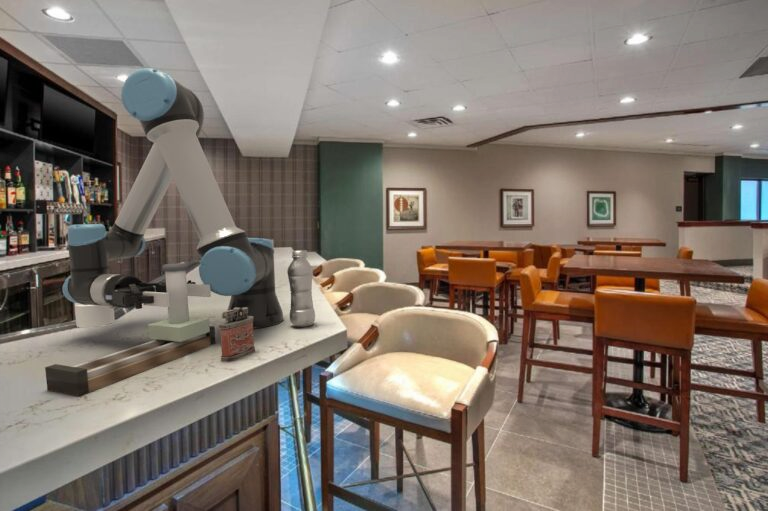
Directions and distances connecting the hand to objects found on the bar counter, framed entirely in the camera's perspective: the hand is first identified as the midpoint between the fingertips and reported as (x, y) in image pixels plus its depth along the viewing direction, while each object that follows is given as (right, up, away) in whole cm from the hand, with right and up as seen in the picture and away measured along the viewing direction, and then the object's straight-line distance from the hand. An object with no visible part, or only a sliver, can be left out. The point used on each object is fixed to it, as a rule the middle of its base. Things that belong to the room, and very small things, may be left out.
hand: (189, 295), depth 87 cm
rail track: (-7, -13, -5) cm, 16 cm away
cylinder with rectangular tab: (-41, -11, +30) cm, 52 cm away
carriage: (-4, -9, +3) cm, 10 cm away
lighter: (+11, -13, -2) cm, 17 cm away
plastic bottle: (+20, -10, +21) cm, 31 cm away
